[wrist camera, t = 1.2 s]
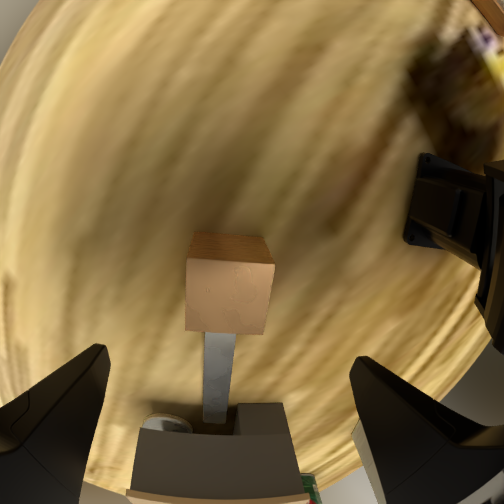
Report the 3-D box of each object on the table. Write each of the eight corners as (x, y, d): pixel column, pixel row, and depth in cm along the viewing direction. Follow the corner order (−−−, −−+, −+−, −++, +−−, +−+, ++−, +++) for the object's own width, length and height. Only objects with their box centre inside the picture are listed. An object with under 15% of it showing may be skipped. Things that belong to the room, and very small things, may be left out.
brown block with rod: (263, 237, 16) (275, 264, 13) (235, 415, 22) (239, 450, 18) (194, 231, 16) (186, 257, 12) (192, 413, 22) (190, 448, 18)
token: (192, 413, 22) (192, 423, 21) (193, 438, 24) (193, 447, 23) (140, 407, 21) (138, 417, 20) (147, 433, 23) (146, 441, 22)
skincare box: (402, 403, 26) (444, 476, 14) (390, 423, 27) (425, 491, 16) (359, 416, 25) (397, 501, 14) (349, 435, 26) (380, 512, 15)
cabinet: (285, 401, 22) (310, 499, 13) (265, 455, 26) (277, 526, 17) (144, 394, 20) (125, 495, 11) (158, 451, 24) (152, 524, 15)
